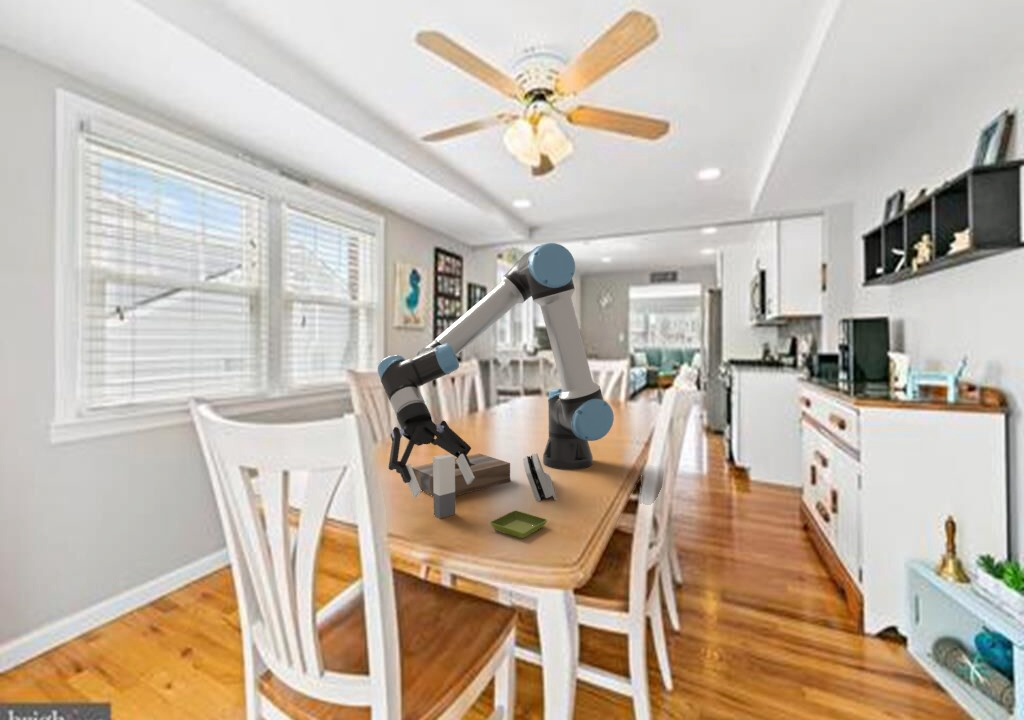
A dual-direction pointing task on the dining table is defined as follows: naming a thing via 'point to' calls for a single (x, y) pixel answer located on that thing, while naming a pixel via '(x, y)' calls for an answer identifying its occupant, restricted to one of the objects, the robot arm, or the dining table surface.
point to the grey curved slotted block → (538, 478)
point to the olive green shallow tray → (518, 524)
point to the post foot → (482, 468)
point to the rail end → (444, 485)
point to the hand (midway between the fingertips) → (445, 487)
